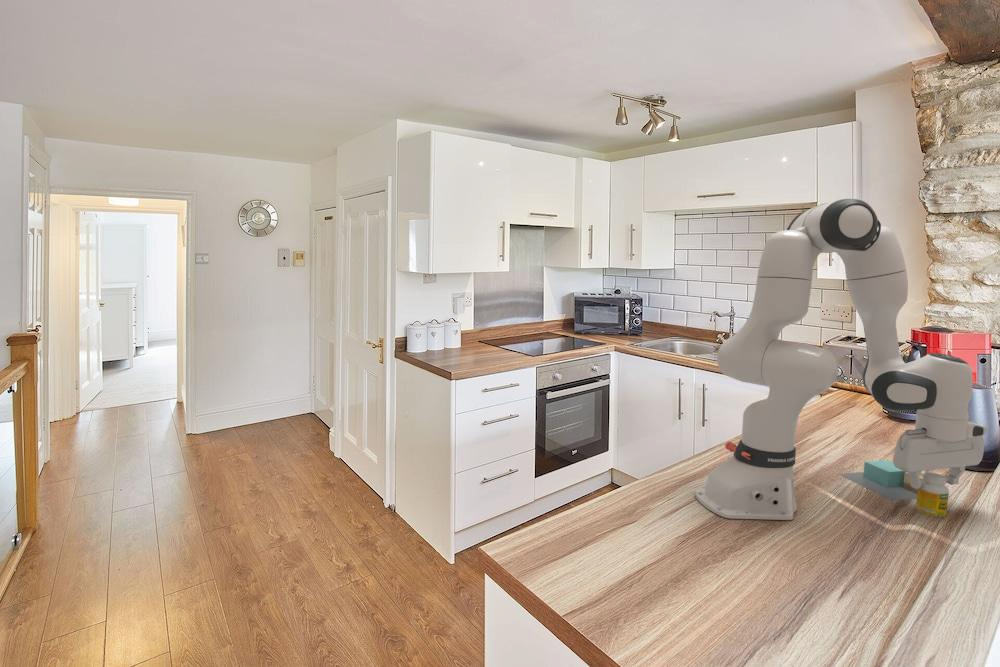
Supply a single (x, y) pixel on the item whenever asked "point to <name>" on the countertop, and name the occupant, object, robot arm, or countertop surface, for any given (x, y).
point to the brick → (908, 482)
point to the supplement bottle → (933, 495)
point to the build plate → (881, 487)
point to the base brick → (884, 473)
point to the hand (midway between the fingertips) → (934, 485)
